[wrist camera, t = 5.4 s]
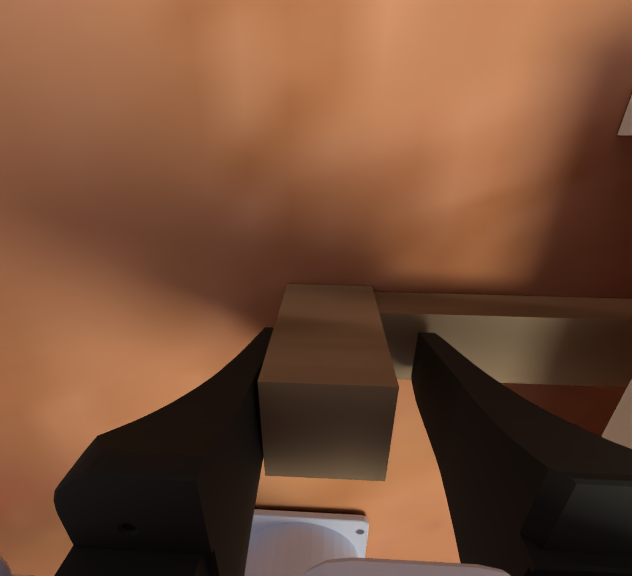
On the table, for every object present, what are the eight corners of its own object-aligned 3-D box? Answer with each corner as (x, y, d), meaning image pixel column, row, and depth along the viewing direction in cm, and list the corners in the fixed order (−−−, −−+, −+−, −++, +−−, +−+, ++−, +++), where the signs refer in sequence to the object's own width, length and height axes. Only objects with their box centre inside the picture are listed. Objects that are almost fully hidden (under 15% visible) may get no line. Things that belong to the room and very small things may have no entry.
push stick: (679, 366, 15) (887, 505, 9) (289, 353, 15) (265, 475, 10) (721, 295, 13) (999, 409, 8) (287, 283, 14) (257, 381, 8)
